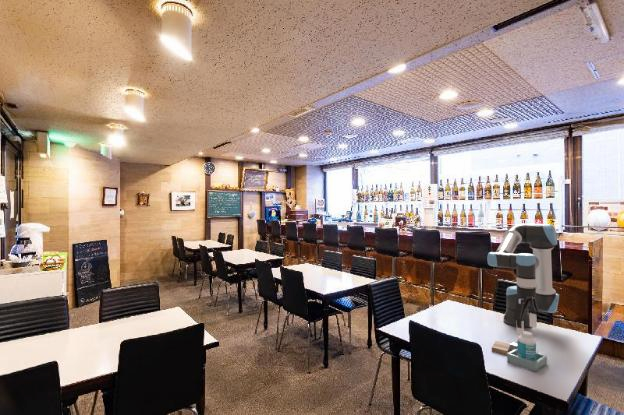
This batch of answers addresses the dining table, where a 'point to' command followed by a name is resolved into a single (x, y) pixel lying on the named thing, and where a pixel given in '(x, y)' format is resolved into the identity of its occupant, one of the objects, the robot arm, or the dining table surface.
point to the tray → (527, 361)
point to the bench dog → (513, 346)
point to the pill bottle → (526, 346)
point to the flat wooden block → (501, 347)
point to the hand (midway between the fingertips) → (526, 330)
